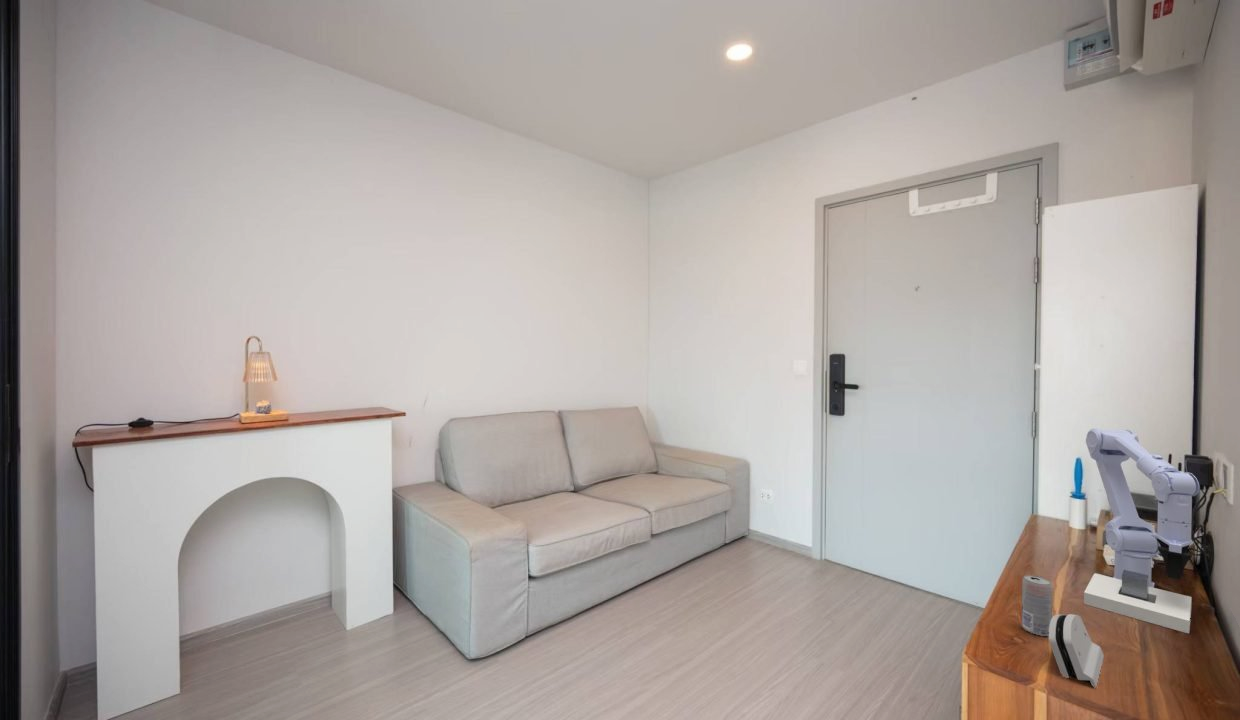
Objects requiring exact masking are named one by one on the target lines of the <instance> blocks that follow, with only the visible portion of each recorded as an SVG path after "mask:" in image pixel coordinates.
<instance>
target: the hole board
mask: <svg viewBox="0 0 1240 720" xmlns="http://www.w3.org/2000/svg"><path fill="white" fill-rule="evenodd" d="M1083 604H1084V605H1087V606H1090V607H1092V608H1093V607H1094V608H1098V609H1100V610H1105V611H1109V612H1111V613H1115V614H1117V615H1118V614H1119V615H1122V616H1126V617H1129V618H1133V619H1135V620H1140V621H1143V622H1146V623H1149V624H1154V625H1157V626H1161V627H1164V628H1168V629H1171V630H1175V631H1178V632H1181V633H1184V634H1190V630H1191V619H1190V618H1192V616H1191V615H1192V596H1189V595H1184V594H1181V593H1176V592H1173V591H1168V590H1164V589H1160V588H1156V587H1154V588H1153V587H1149V594H1148V602H1147V601H1143V600H1140V599H1136V598H1132V597H1128V596H1124V595H1122V580H1120V579H1116V578H1113V576H1112V577H1111V576H1107V575H1104V574H1100V573H1096V572H1095V573H1094V574H1093V575H1092V577H1091V578H1090V580H1089V583H1088V584H1087V586H1086V588H1085V590H1084V592H1083Z"/></svg>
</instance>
